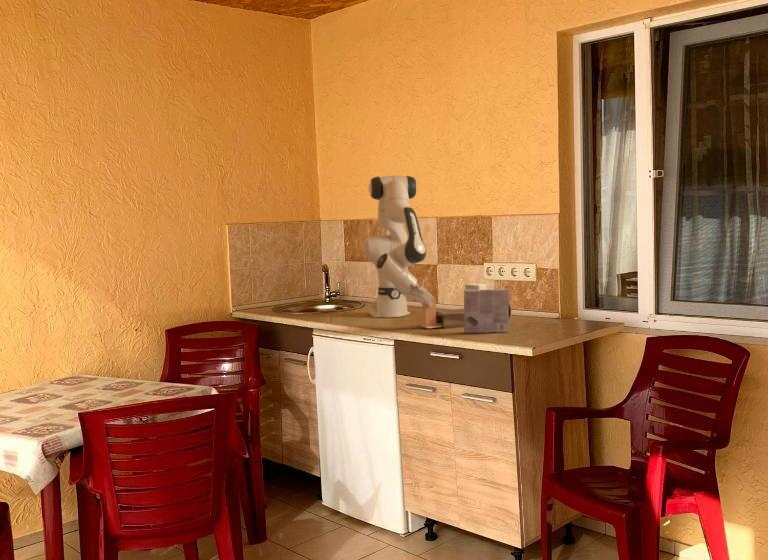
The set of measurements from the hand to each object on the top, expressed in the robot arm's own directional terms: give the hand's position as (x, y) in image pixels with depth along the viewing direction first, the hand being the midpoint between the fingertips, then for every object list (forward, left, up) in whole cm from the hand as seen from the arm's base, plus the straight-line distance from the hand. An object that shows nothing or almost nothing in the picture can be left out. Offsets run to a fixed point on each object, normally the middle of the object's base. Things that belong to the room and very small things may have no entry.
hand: (429, 305), depth 352 cm
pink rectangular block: (0, +8, -9) cm, 12 cm away
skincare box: (-15, +30, -10) cm, 35 cm away
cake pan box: (+25, +15, -10) cm, 31 cm away
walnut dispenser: (0, +13, -10) cm, 16 cm away
